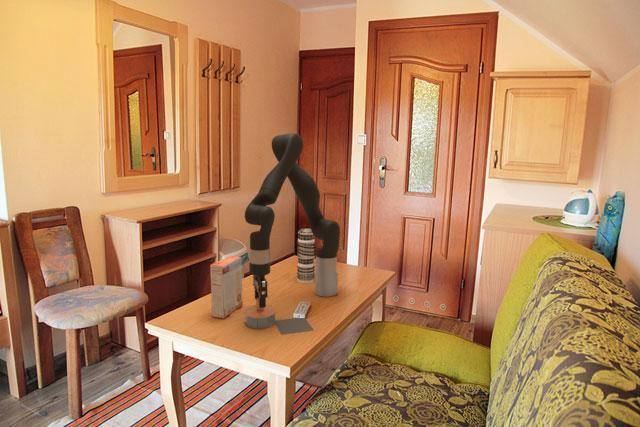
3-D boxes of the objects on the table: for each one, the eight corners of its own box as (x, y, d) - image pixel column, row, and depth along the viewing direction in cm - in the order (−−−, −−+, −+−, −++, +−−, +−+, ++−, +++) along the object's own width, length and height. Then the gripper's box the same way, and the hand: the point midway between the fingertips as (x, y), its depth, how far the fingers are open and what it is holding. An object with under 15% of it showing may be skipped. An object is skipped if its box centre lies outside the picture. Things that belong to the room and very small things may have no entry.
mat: (304, 318, 165) (304, 316, 165) (314, 331, 154) (314, 330, 154) (273, 322, 162) (273, 320, 161) (281, 336, 150) (281, 334, 150)
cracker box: (230, 304, 178) (229, 255, 174) (243, 306, 176) (242, 256, 172) (210, 317, 165) (209, 264, 161) (224, 319, 163) (223, 266, 159)
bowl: (270, 316, 166) (270, 305, 165) (276, 327, 157) (276, 316, 156) (244, 320, 163) (244, 308, 162) (249, 331, 154) (249, 319, 153)
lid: (271, 305, 166) (271, 292, 165) (278, 316, 156) (278, 302, 155) (242, 308, 163) (242, 295, 162) (247, 320, 152) (247, 306, 151)
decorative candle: (292, 281, 208) (293, 230, 203) (301, 275, 216) (301, 226, 212) (310, 284, 204) (311, 232, 200) (318, 278, 212) (319, 228, 208)
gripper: (274, 265, 150) (274, 309, 153) (265, 254, 164) (266, 295, 166) (253, 266, 148) (253, 311, 151) (246, 255, 161) (246, 297, 164)
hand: (260, 303), depth 159 cm, fingers open, 8 cm apart
